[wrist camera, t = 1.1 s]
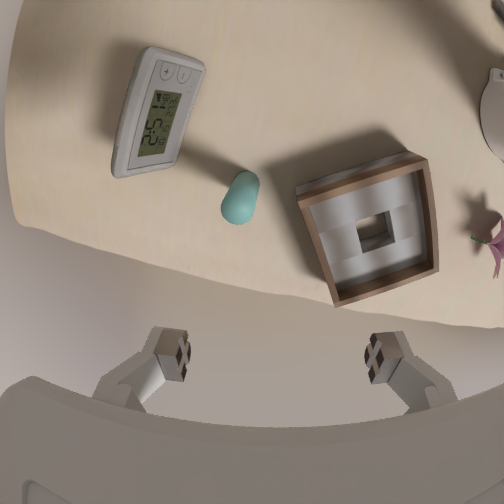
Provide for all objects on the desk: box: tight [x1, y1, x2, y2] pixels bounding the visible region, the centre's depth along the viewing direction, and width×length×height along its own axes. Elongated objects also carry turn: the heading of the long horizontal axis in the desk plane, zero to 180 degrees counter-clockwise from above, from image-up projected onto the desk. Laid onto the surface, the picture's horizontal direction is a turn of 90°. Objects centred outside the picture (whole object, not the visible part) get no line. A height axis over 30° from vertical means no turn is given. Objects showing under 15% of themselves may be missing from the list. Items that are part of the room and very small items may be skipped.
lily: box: [471, 216, 504, 279], centre depth 34 cm, size 12×12×10 cm
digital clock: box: [111, 47, 206, 178], centre depth 29 cm, size 16×9×11 cm, turn 148°
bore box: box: [295, 151, 439, 308], centre depth 37 cm, size 18×18×6 cm
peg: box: [221, 171, 260, 225], centre depth 34 cm, size 4×4×10 cm
